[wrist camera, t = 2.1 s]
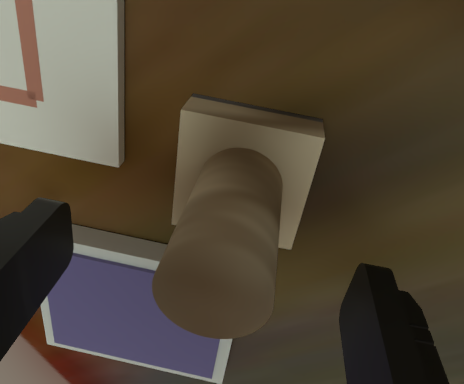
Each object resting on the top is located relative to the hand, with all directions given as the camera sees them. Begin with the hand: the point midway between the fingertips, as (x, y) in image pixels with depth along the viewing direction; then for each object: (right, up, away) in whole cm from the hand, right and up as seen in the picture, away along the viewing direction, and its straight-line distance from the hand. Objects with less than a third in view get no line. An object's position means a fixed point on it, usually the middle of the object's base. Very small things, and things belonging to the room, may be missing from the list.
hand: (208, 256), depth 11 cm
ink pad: (-4, -4, +10) cm, 11 cm away
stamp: (+1, +3, +5) cm, 6 cm away
